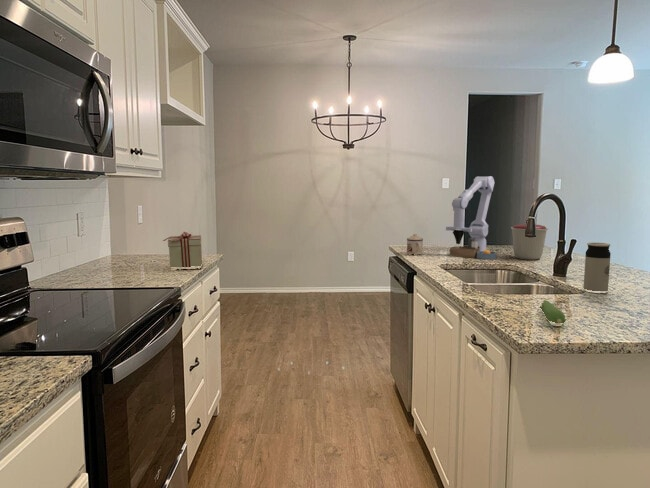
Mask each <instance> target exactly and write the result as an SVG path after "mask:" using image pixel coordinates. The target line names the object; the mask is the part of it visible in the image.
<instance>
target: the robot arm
mask: <svg viewBox="0 0 650 488" xmlns="http://www.w3.org/2000/svg"><path fill="white" fill-rule="evenodd" d="M494 187H495V179H494V177H493V176H491V175H490V176H475V178H473V183H472V184H471V185H470V187H469V188H468V189H464V190H463V191H462V193H461V194H460V195H458V197H455V198H453V200H452V201H451V206H452V211H453V226H445V231H452V234H453V236H454V239H455V242H456V245H461V242H462V239H463V236H464V235H465V232H468V234H469V236H470V237H469V238H475V241H478V247H480V251H484V250H487V239H486V237H487V236H488V234H489V224H488V223H487V221H486V219H487V214H488V210H489V206H490V202H491V201H490V200H491V197H492V192H494ZM477 191H478V192H479V193H480V199H479V203H478V208H477V211H476V212H477V213H476V215H475V220H473V221H472V222H471V223H470V225H469V227H465V217H466V216H465V214H466V212H465V209H466V208H467V207H468V205H469V201H471V199H472V198H473V197H474V193H476V192H477Z"/></svg>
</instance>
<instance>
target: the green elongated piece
mask: <svg viewBox="0 0 650 488" xmlns="http://www.w3.org/2000/svg"><path fill="white" fill-rule="evenodd" d="M539 306H540V307H539V309H540V308H541V309H542V311H543V312H544V313H543V312H542V311H541V312H542V313H543V315H544V314H545V315H544V317H545V316H546V317H545V319H546V318H547V319H548V320H549V321H552V322H555V323H564V322H565V323H566V321H567V320H566V316H565V314H564V312H563V311H562V310H560V309H559V308H557V307H556V306H555V305H554V304H553V303H551V302H550V301H548V300H547V299H544V300H543V301H542V302H541V305H539ZM541 309H540V310H541ZM547 319H546V320H547ZM565 323H564V324H565Z"/></svg>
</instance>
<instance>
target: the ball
mask: <svg viewBox="0 0 650 488" xmlns="http://www.w3.org/2000/svg"><path fill="white" fill-rule="evenodd" d="M490 252H491V251H490V250H489V249H486V250H484V251H483V254H490Z"/></svg>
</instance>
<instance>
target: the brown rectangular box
mask: <svg viewBox="0 0 650 488" xmlns="http://www.w3.org/2000/svg"><path fill="white" fill-rule="evenodd" d="M478 251H480V247H478V248H477V249H476V248H473V247H468V245H466V244H465V245H464V244H463V246H459V245H458V246H457V245H455V246H452V247H449V256H450V255H453V256H452V257H458V256H460V257H459V258H468V257H469V258H470V259H475V258H476V252H478ZM476 259H477V258H476Z"/></svg>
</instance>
